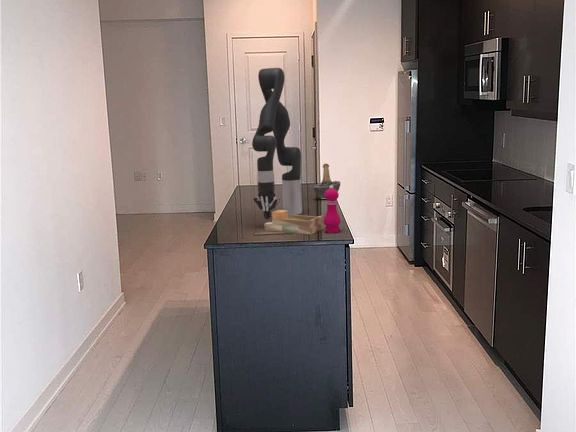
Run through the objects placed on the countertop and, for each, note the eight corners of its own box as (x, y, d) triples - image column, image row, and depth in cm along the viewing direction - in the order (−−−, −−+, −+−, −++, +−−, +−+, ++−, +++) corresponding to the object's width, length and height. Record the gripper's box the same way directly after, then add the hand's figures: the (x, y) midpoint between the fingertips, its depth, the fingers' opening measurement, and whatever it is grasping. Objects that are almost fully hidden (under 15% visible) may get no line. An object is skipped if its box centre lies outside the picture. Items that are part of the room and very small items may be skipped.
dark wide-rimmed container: (340, 196, 356) (340, 161, 352) (340, 201, 340) (339, 165, 336) (315, 196, 357) (314, 162, 354) (313, 201, 341) (312, 165, 337)
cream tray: (277, 225, 280) (276, 212, 279) (322, 229, 269) (322, 215, 268) (264, 230, 271) (264, 216, 270) (311, 234, 260) (311, 220, 259)
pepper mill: (326, 229, 269) (325, 184, 265) (342, 229, 267) (341, 184, 263) (322, 232, 262) (321, 186, 258) (338, 233, 260) (337, 186, 256)
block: (278, 220, 276) (277, 209, 275) (288, 221, 274) (287, 210, 273) (272, 222, 272) (272, 211, 271) (282, 223, 269) (282, 212, 268)
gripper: (282, 180, 272) (284, 218, 276) (257, 179, 279) (259, 216, 282) (274, 182, 266) (275, 221, 269) (248, 181, 272) (250, 219, 276)
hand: (267, 218), depth 276 cm, fingers closed
